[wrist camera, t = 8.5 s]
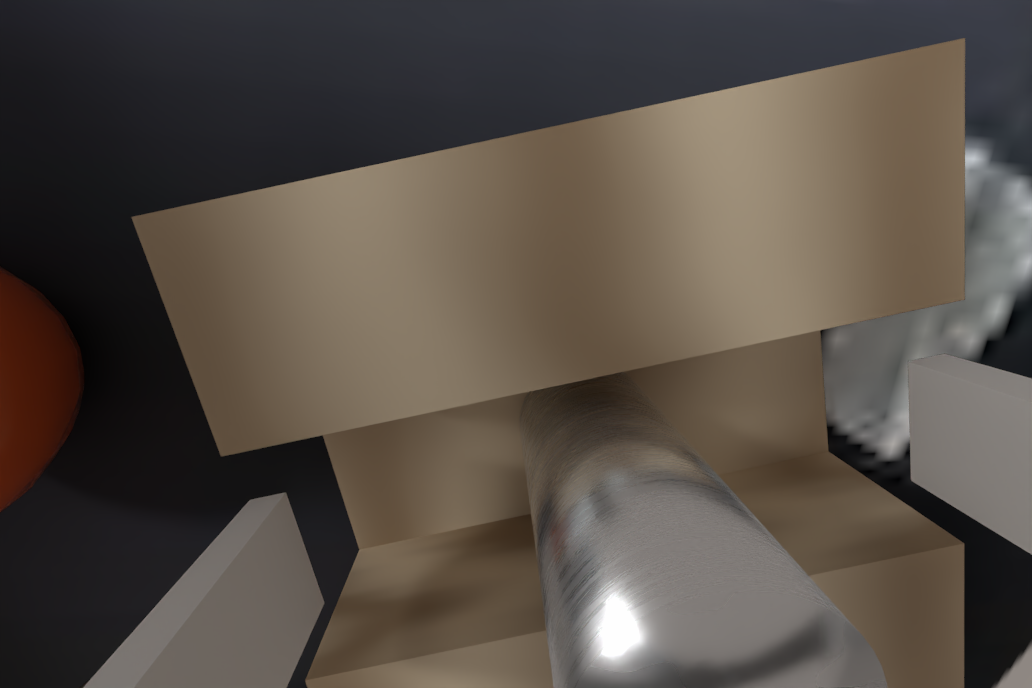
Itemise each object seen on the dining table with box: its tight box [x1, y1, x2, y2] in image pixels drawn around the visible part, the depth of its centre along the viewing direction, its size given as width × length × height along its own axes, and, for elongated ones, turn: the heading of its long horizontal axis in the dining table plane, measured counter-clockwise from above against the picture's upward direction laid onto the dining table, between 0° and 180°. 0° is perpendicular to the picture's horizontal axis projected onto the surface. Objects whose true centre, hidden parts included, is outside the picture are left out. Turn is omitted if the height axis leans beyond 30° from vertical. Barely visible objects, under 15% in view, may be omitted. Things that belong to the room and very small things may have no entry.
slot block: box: [131, 38, 965, 688], centre depth 13 cm, size 14×14×5 cm
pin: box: [520, 372, 887, 688], centre depth 10 cm, size 4×4×9 cm
